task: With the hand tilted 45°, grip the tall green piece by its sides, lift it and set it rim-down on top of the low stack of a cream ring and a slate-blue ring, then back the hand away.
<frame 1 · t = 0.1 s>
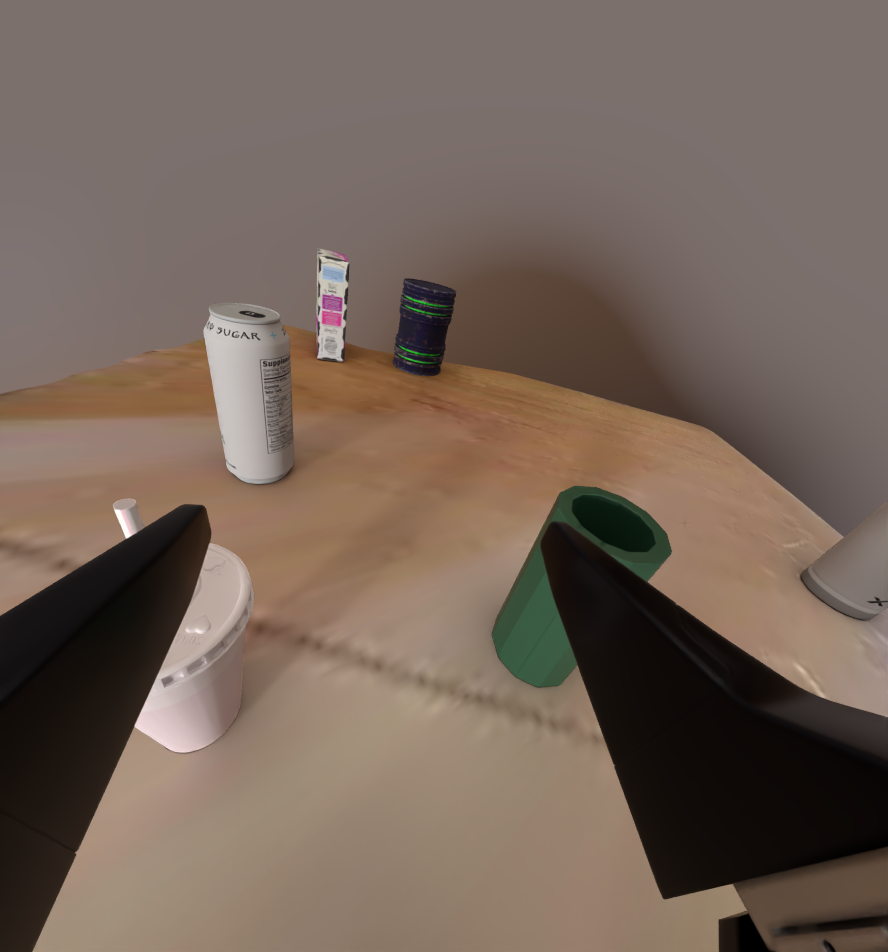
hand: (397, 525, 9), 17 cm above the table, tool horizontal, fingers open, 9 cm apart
travel mug: (834, 597, 38), on the table
smoothie: (202, 712, 19), on the table
energy drink can: (262, 470, 36), on the table
candy bar box: (330, 352, 68), on the table
storage jar: (416, 367, 71), on the table
green piece: (532, 643, 26), on the table
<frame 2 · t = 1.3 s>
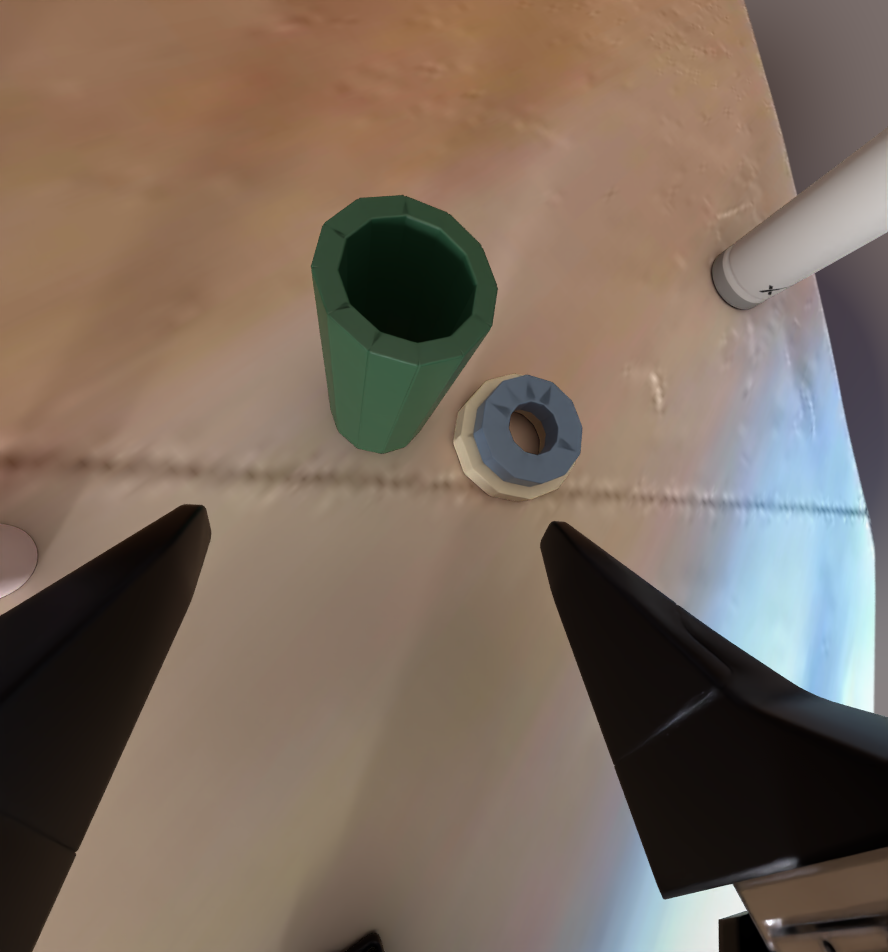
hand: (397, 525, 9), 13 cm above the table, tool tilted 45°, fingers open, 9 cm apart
travel mug: (733, 284, 35), on the table
ring stack: (510, 441, 26), on the table
green piece: (379, 408, 23), on the table
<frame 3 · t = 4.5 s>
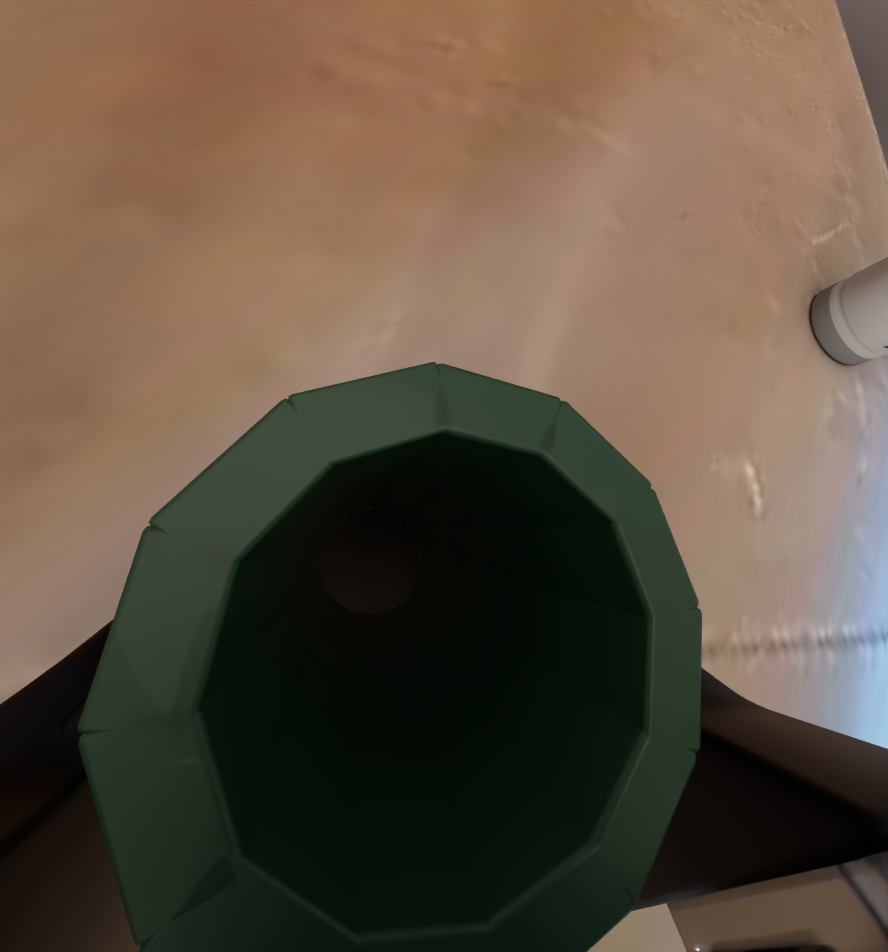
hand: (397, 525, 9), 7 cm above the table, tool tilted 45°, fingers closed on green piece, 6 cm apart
travel mug: (835, 331, 27), on the table
green piece: (374, 560, 15), on the table, touching gripper
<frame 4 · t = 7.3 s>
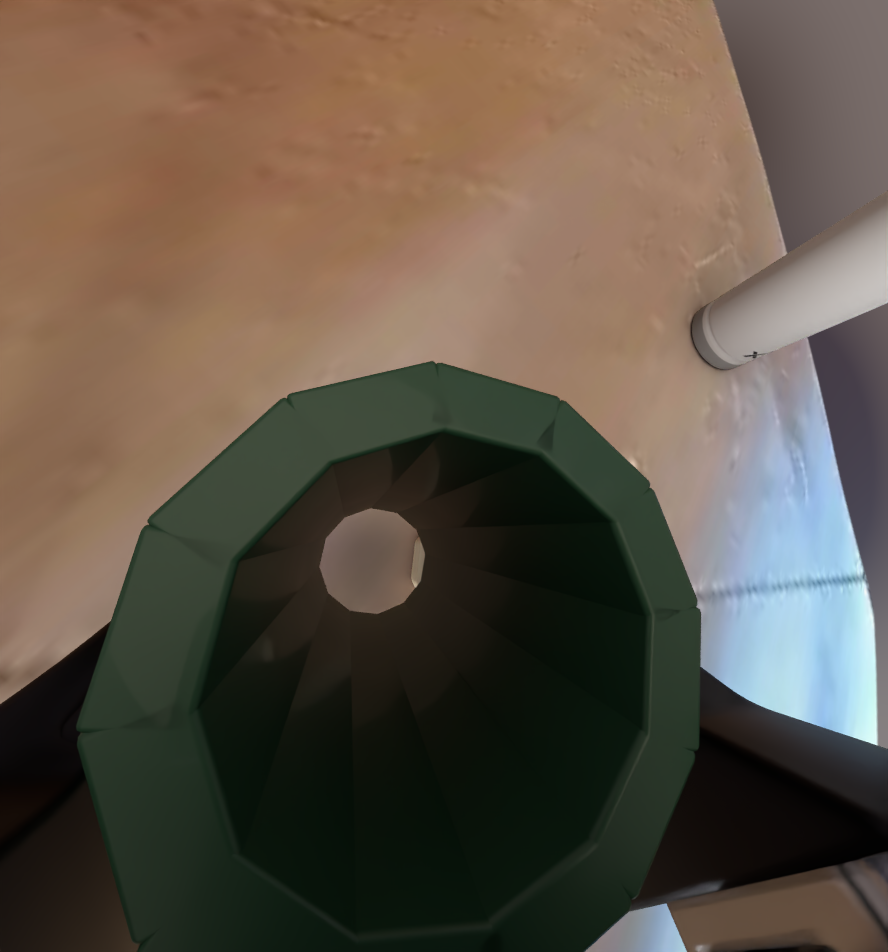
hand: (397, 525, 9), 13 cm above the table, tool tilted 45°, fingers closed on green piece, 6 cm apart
travel mug: (715, 341, 33), on the table
ring stack: (476, 564, 23), on the table
green piece: (374, 559, 15), point 6 cm above the table, touching gripper
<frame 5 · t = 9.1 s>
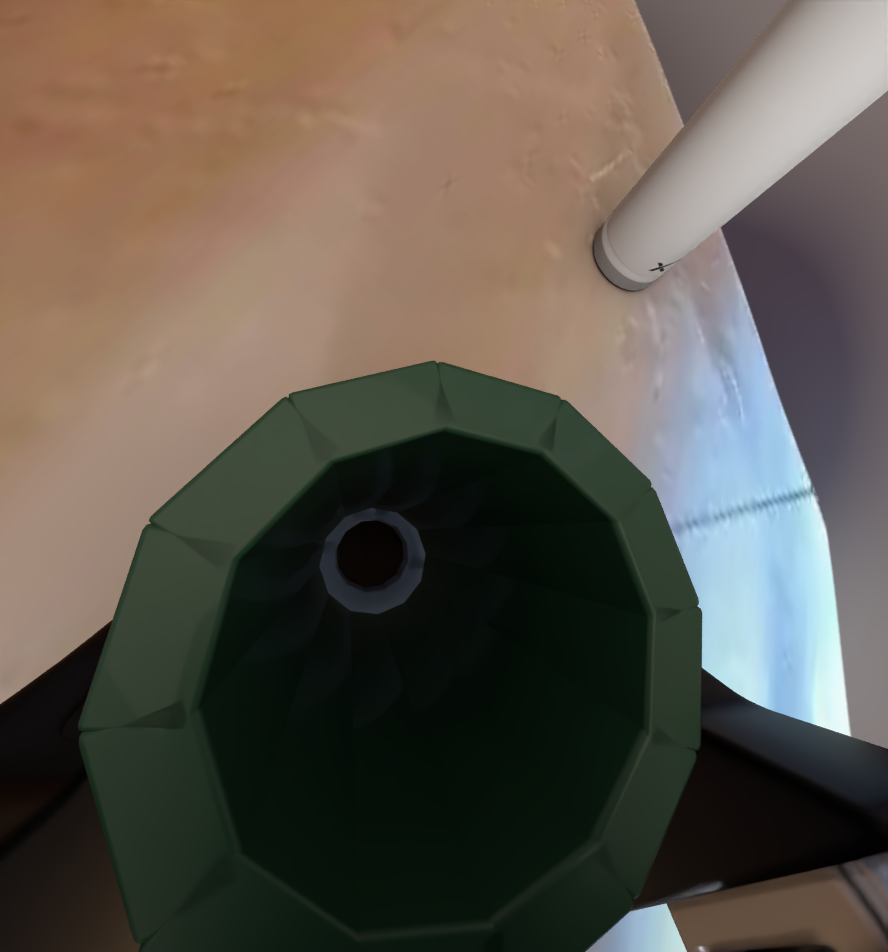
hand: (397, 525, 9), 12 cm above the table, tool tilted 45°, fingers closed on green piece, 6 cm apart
travel mug: (623, 260, 29), on the table
ring stack: (369, 551, 20), on the table
green piece: (374, 559, 15), point 5 cm above the table, touching gripper
when the fingers open (10 cm above the table, at t = 10.3 s): green piece stays where it is, resting on ring stack.
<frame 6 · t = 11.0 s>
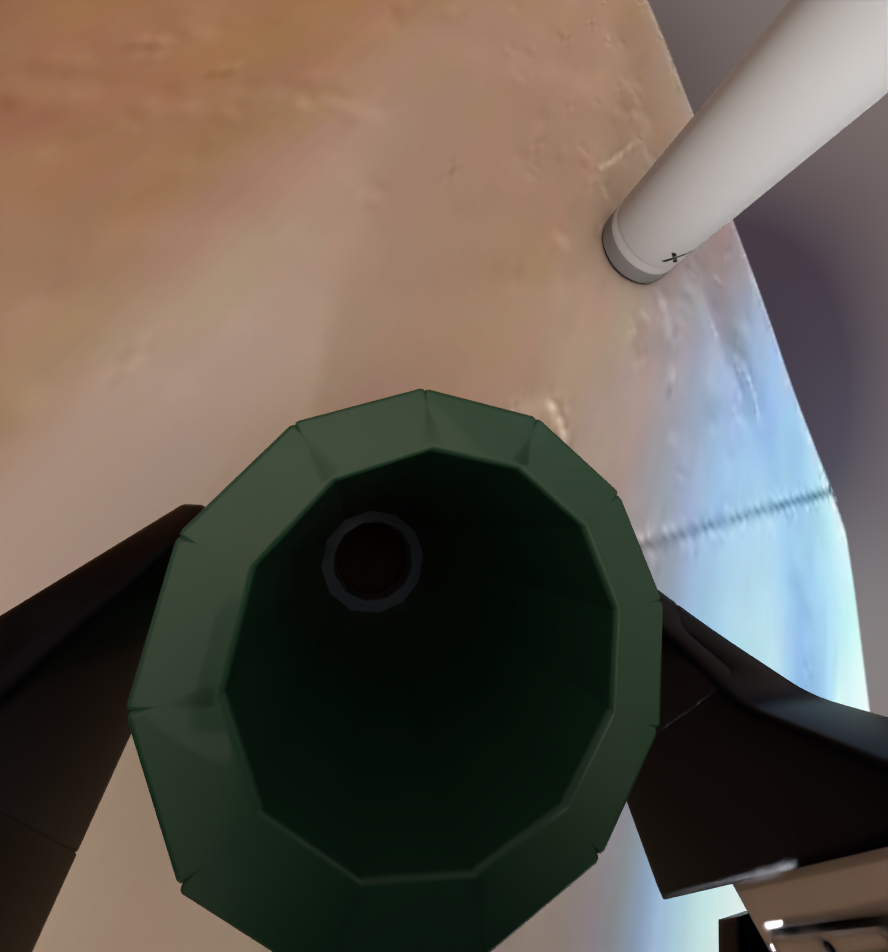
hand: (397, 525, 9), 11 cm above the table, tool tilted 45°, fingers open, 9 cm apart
travel mug: (633, 252, 28), on the table
ring stack: (369, 555, 19), on the table
green piece: (374, 560, 16), point 3 cm above the table, touching ring stack
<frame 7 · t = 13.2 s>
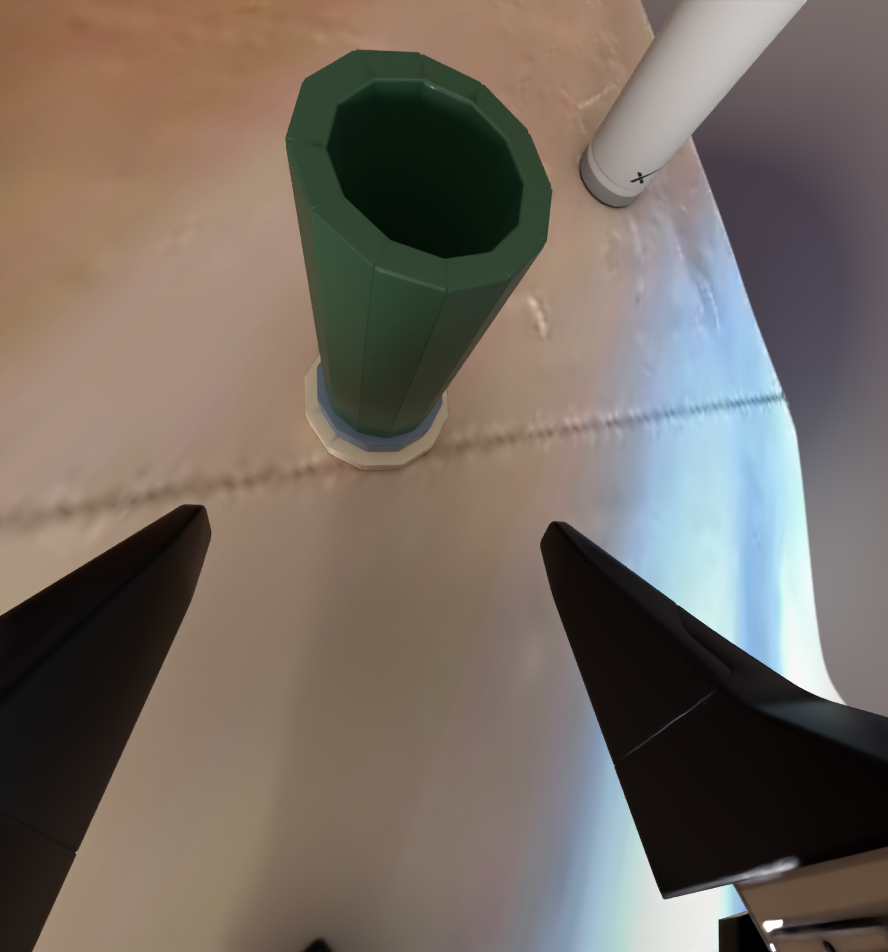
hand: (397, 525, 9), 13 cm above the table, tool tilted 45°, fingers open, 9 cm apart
travel mug: (608, 181, 32), on the table
ring stack: (377, 405, 23), on the table
green piece: (382, 385, 20), point 3 cm above the table, touching ring stack
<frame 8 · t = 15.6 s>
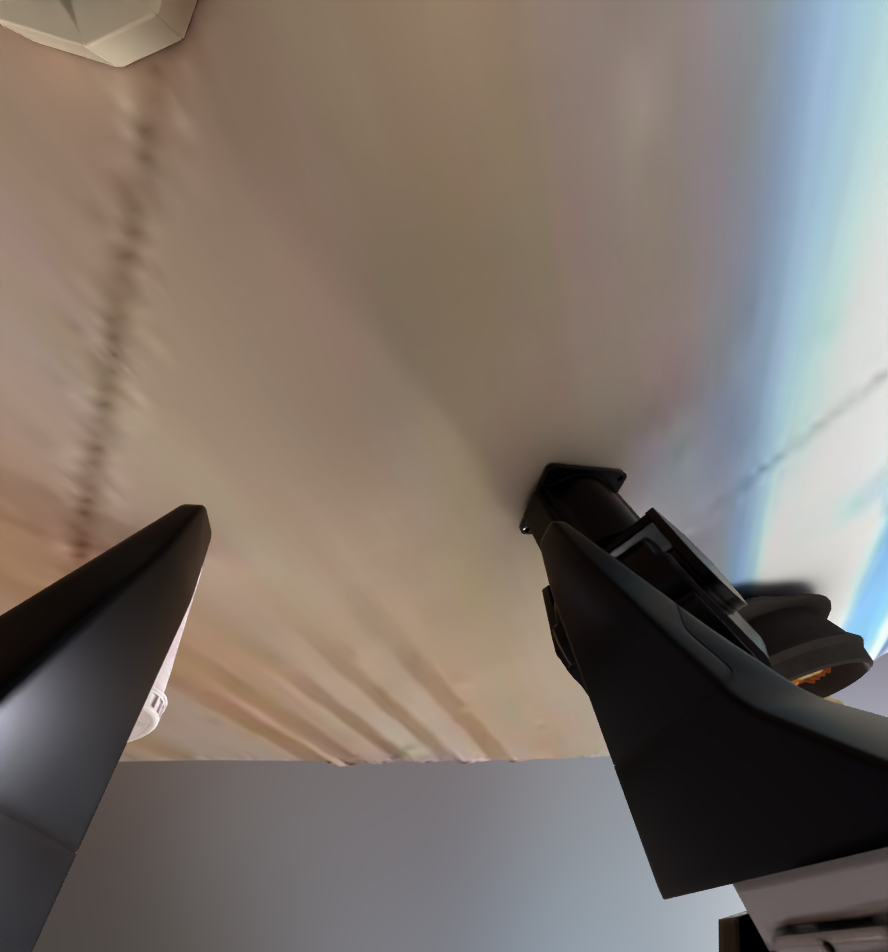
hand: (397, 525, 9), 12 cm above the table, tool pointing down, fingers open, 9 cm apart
casserole: (739, 623, 47), on the table
smoothie: (173, 562, 25), on the table
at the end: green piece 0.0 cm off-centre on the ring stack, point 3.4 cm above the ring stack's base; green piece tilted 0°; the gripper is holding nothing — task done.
